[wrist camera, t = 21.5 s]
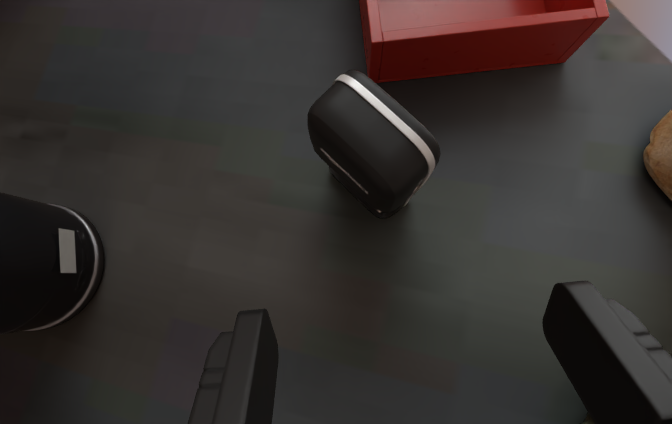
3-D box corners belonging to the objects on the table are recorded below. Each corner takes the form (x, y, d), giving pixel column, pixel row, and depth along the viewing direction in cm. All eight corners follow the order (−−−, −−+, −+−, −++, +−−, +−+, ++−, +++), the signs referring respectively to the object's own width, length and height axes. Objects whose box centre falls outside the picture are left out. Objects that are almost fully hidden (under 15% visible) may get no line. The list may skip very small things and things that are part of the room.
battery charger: (314, 171, 29) (288, 104, 18) (349, 138, 29) (345, 51, 18) (379, 234, 28) (395, 205, 17) (414, 199, 28) (454, 147, 17)
